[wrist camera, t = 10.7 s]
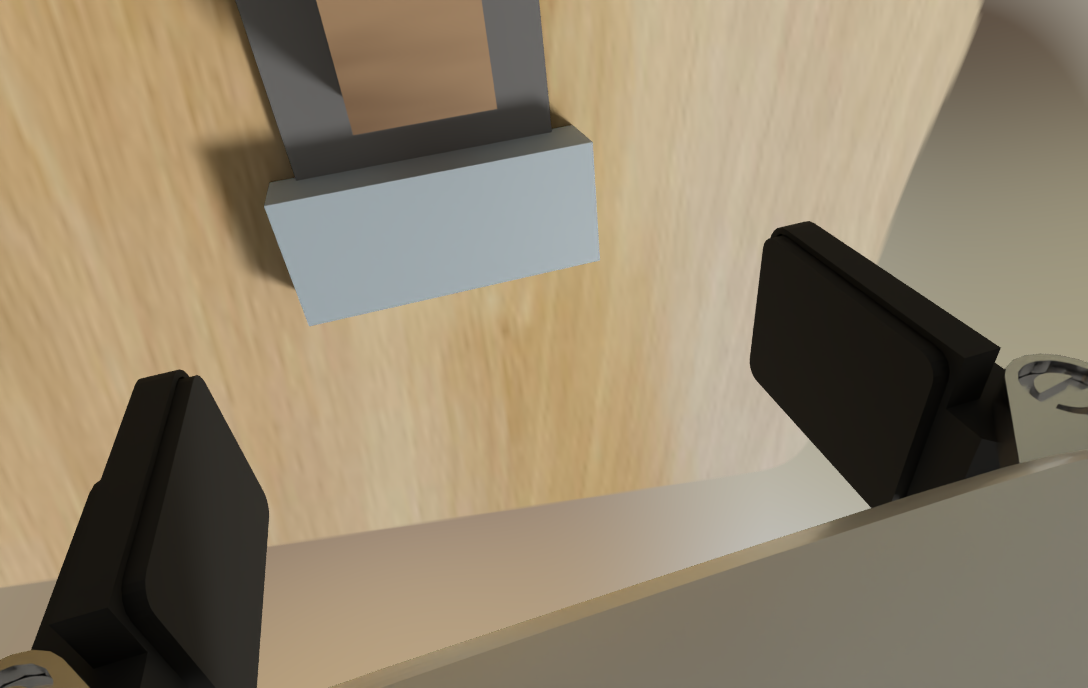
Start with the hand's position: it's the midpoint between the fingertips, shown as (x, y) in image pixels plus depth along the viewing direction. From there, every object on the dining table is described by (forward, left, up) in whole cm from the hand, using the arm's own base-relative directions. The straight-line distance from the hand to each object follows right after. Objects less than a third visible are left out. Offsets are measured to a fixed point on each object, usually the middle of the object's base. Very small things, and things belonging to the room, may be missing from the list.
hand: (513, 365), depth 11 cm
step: (+4, 0, -17) cm, 17 cm away
